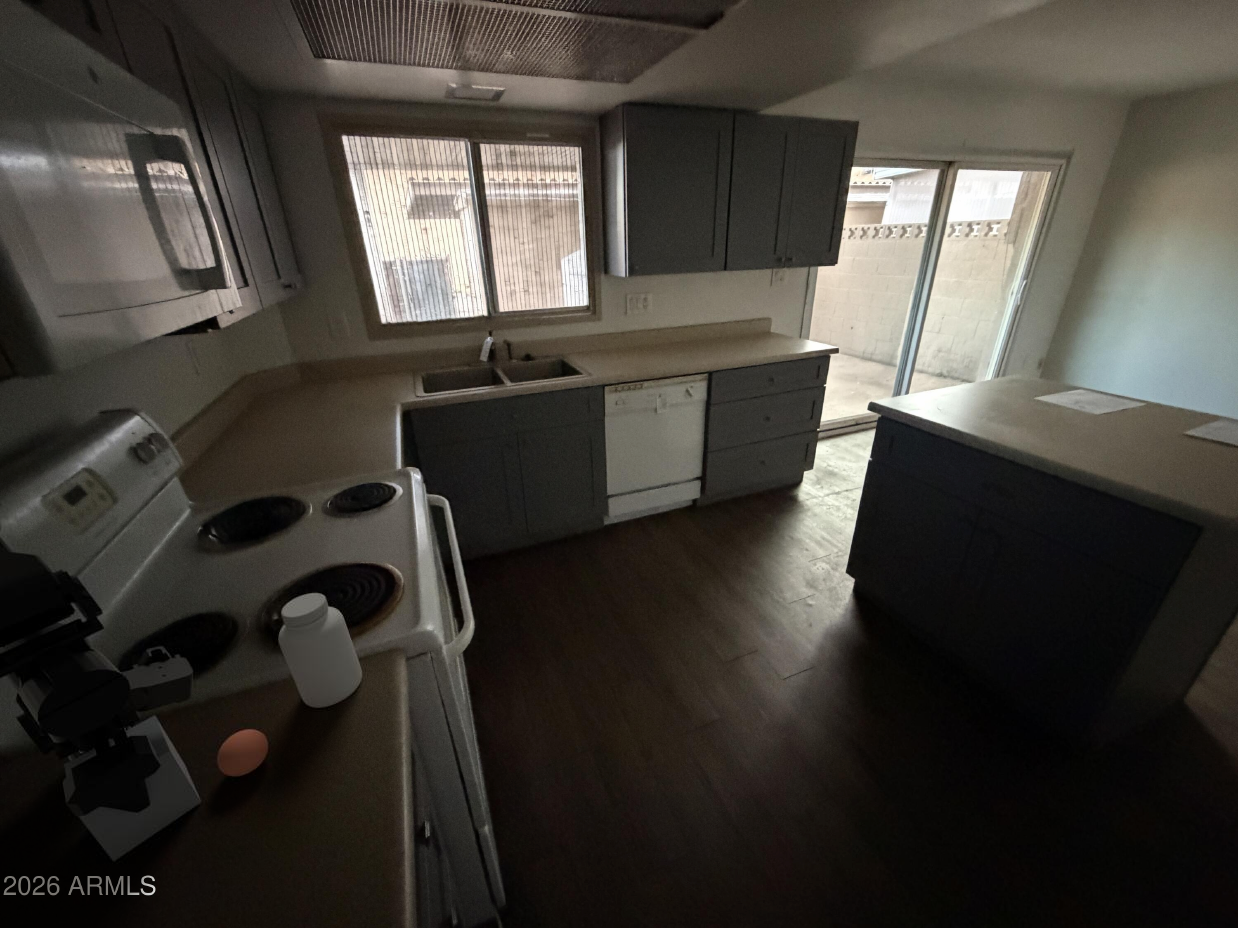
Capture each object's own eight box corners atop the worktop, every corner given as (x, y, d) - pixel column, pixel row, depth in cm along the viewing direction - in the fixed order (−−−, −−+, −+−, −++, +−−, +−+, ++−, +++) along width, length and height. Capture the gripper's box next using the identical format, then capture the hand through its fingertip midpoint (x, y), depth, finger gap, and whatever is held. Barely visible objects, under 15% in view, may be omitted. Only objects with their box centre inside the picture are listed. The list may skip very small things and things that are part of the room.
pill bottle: (374, 666, 76) (347, 586, 70) (342, 710, 69) (309, 626, 63) (326, 664, 77) (295, 585, 71) (290, 708, 70) (252, 624, 64)
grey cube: (102, 815, 57) (64, 764, 54) (184, 764, 63) (154, 714, 59) (113, 861, 53) (72, 808, 49) (201, 802, 58) (169, 750, 55)
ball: (220, 769, 62) (205, 742, 60) (265, 740, 65) (252, 713, 63) (233, 794, 59) (217, 765, 57) (279, 761, 62) (266, 734, 60)
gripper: (190, 675, 50) (245, 778, 56) (151, 605, 61) (201, 697, 67) (29, 759, 42) (114, 867, 48) (17, 661, 53) (88, 760, 60)
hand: (136, 785), depth 56 cm, fingers closed on grey cube, 8 cm apart
